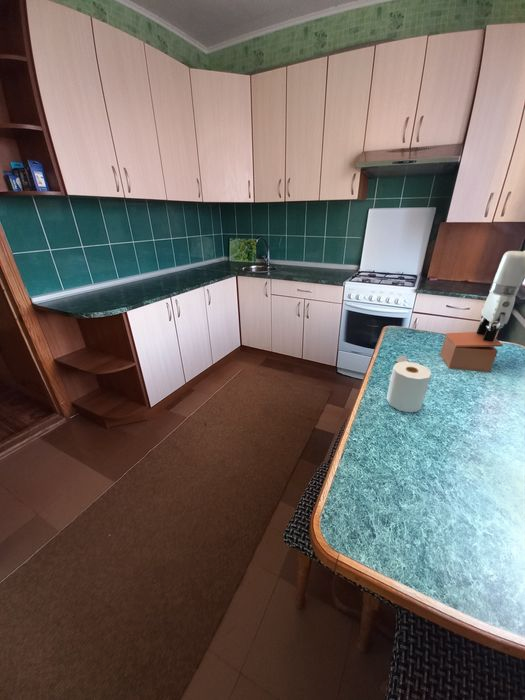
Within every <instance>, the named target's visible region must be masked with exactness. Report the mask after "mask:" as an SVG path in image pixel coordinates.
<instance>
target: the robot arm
mask: <svg viewBox="0 0 525 700" xmlns="http://www.w3.org/2000/svg"><path fill="white" fill-rule="evenodd" d="M524 279H525V250H523V251H521V250H508V251H506V252H505V253H504V254H503V255H502V257H501V260H500V262H499V265H498V268H497V271H496V273H495V276H494V278H493V281H492V283H491V285H490V288H489V294H487V297H486V299H485V302H484V304H483V306H482V309H481V311H480V314H481V319H480V321H479V324H478V328H477V330H476V332H477V334H479V335H484V338H483V340H484V341H494V338H496V336H497V334H498V333H499V331H500V330H501V329H502V328H504V327H505V325H507V324H508V322H509V320H510V318H511V314H512V311H513V309H514V306H515V301H516V296H517V295H518V292H519V290H520V289H521V286H522V283H523V282H524V281H523V280H524ZM487 324H489V328H488V330H486V328H485V325H487ZM492 326H493V327H492Z"/></svg>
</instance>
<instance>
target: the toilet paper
mask: <svg viewBox="0 0 525 700" xmlns="http://www.w3.org/2000/svg"><path fill="white" fill-rule="evenodd" d="M391 374H392V375H391ZM391 374H390V376H391V380H390V381H389V384H388V390H387V393H386V394H387V395H386V401H387V402H388V405H389V406H391V407H392V408H395V410H398V411H400V412H405V413H410V414H412V413H415V412H420V411H421V409H422V407H423V404H424V401H425V397H426V394H427V390H428V386H429V383H430V381H431V380H430V379H431V376H432V371H431V370H430V369H429V368H428V367H427V366H425V365H422V364H421V363H418V362H413V361H408V362H406V361H404V362H395V364H394V365H393V366H392V370H391Z"/></svg>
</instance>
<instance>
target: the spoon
mask: <svg viewBox="0 0 525 700" xmlns="http://www.w3.org/2000/svg"><path fill="white" fill-rule="evenodd" d="M395 361H396V363H399V362H404V361H406V362H409V361H408V357H407V356H406V355H399V356H398V357H397V358H396V359H395ZM391 375H392V373H391V374H390V375H389V377H388V381H389V382H390V380H391Z"/></svg>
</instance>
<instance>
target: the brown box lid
mask: <svg viewBox="0 0 525 700" xmlns="http://www.w3.org/2000/svg"><path fill="white" fill-rule="evenodd" d="M493 326H494V325H493ZM493 326H492V327H493ZM485 328H486V330H488V328H489V324H487V325H485ZM445 336H447V337H448V338H449V339H450V341H451V342H452V343H453V345H454V346H455V347H494V348H497V347H498V348H501V347H503V346H504V344H503V343H502V342H501V341H499V340H498V339H497V338H496V337H495V338H494V341H484V340H483V338H484V335H479V334H477V331H475V332H474V331H473V332H472V331H469V332H468V331H467V332H445Z"/></svg>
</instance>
